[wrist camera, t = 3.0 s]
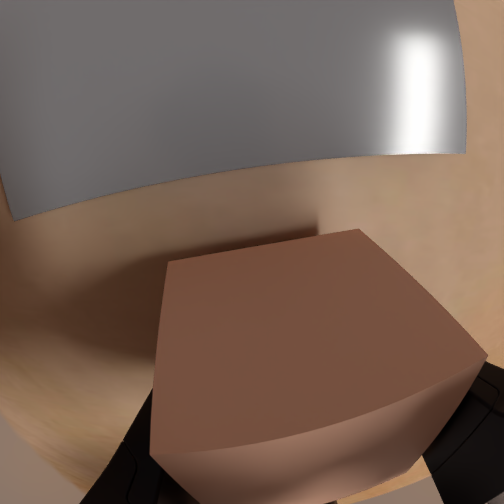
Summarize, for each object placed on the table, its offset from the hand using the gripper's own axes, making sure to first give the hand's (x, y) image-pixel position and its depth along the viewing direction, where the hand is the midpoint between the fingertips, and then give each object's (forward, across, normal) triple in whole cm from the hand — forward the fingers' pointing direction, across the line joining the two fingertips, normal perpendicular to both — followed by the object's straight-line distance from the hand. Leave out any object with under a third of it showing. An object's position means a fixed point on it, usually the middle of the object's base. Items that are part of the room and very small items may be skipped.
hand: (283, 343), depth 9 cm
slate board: (+2, 0, -12) cm, 12 cm away
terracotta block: (+1, 0, 0) cm, 1 cm away
